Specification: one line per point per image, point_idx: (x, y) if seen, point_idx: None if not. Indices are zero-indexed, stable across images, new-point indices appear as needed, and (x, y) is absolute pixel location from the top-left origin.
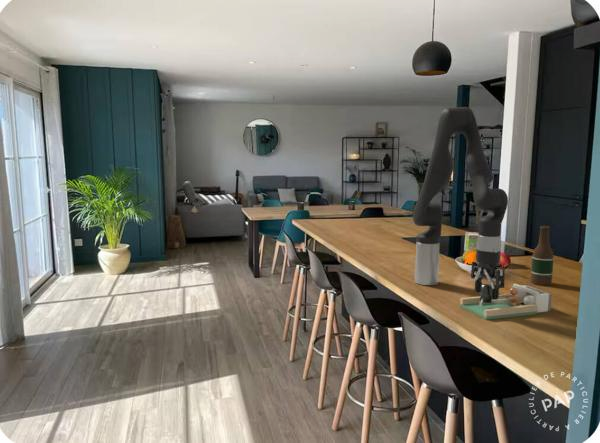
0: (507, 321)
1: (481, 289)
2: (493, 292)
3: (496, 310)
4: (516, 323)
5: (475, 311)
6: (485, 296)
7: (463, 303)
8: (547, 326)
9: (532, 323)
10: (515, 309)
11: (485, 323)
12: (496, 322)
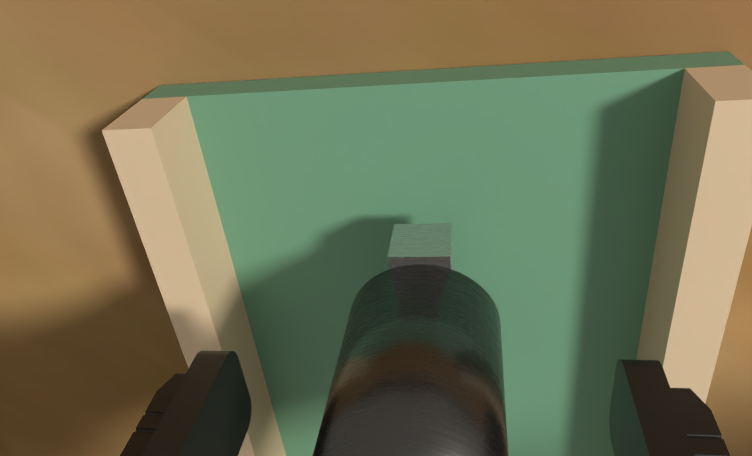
0: (119, 259)
1: (420, 407)
2: (156, 445)
3: (158, 263)
4: (72, 295)
5: (354, 86)
6: (351, 345)
7: (686, 93)
8: (31, 433)
9: (85, 393)
10: None
11: (32, 5)
12: (81, 146)
